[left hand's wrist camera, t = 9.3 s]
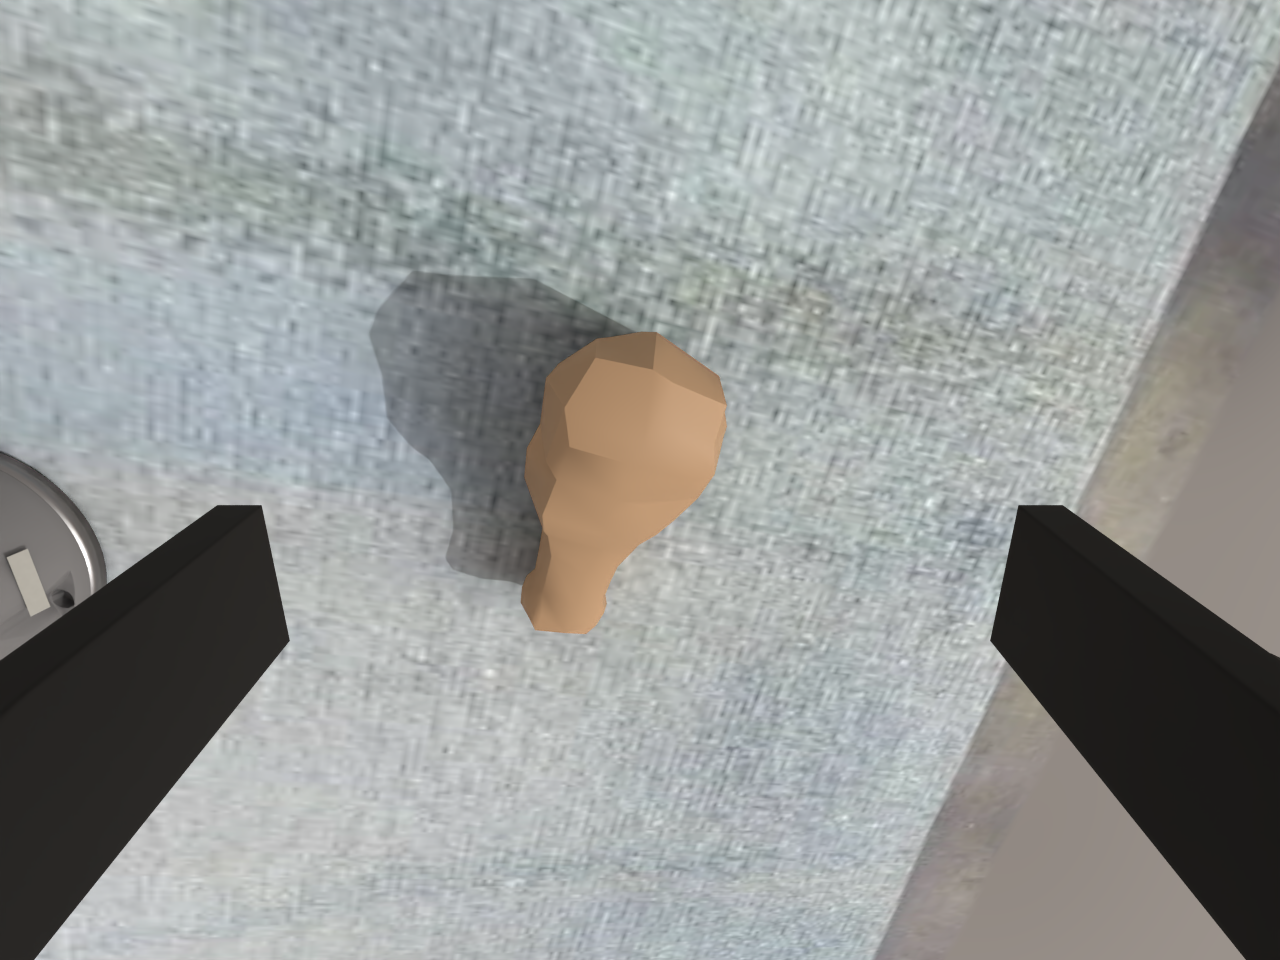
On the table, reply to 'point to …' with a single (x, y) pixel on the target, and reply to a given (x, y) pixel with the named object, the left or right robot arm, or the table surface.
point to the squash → (614, 466)
